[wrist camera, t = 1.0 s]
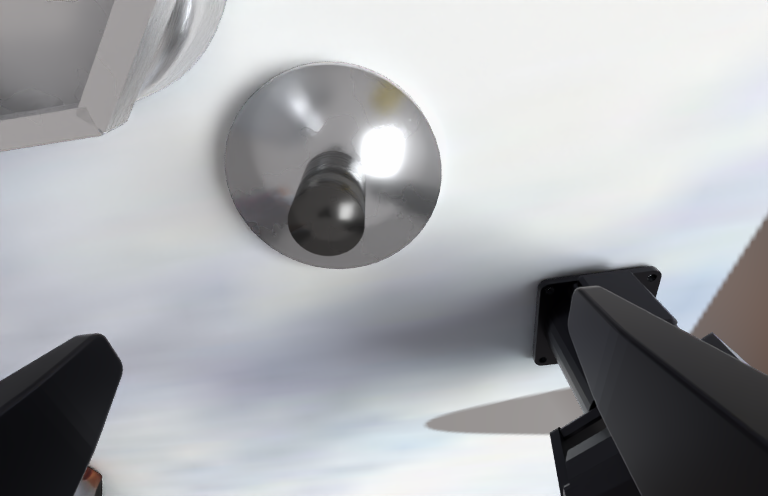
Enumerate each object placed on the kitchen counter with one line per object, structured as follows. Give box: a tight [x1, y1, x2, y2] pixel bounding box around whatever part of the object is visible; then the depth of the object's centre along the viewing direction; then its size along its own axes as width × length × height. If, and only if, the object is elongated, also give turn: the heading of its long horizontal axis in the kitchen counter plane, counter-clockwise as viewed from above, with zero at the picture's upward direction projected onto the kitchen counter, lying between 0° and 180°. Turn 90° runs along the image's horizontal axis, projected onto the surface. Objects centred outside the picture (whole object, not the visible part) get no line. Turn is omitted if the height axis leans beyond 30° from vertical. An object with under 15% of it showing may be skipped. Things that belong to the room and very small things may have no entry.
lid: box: [225, 62, 441, 269], centre depth 17 cm, size 10×10×5 cm
